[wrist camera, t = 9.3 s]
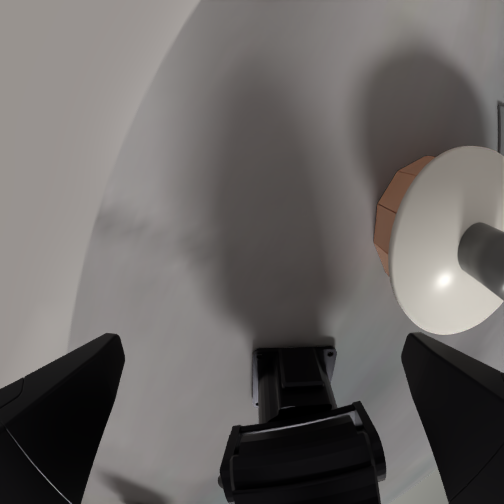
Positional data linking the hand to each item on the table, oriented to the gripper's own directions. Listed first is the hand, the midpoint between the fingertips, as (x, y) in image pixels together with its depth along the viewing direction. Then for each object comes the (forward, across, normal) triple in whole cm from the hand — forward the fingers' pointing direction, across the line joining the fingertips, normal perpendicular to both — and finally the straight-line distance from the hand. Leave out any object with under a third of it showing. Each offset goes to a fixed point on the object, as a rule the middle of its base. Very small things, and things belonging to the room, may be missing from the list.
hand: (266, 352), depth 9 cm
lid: (+8, -13, -1) cm, 15 cm away
